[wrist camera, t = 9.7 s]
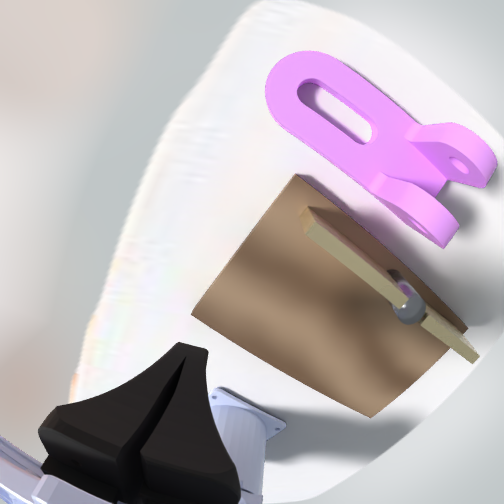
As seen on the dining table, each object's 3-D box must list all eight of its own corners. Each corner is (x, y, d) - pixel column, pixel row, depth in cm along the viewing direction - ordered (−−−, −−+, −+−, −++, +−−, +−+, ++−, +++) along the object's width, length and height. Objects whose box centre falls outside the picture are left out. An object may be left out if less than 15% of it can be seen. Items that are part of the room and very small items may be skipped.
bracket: (447, 162, 17) (508, 172, 11) (405, 223, 19) (454, 257, 13) (297, 42, 16) (305, -6, 9) (248, 106, 18) (232, 83, 11)
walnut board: (368, 410, 25) (370, 418, 24) (194, 307, 22) (190, 314, 21) (463, 322, 21) (468, 328, 20) (295, 173, 19) (295, 174, 18)
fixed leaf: (389, 298, 20) (410, 329, 16) (294, 222, 19) (298, 242, 15) (406, 278, 19) (431, 307, 15) (312, 199, 18) (321, 213, 14)
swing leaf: (451, 335, 20) (472, 364, 16) (399, 295, 19) (420, 325, 16) (457, 328, 20) (480, 356, 16) (405, 286, 19) (428, 314, 15)
